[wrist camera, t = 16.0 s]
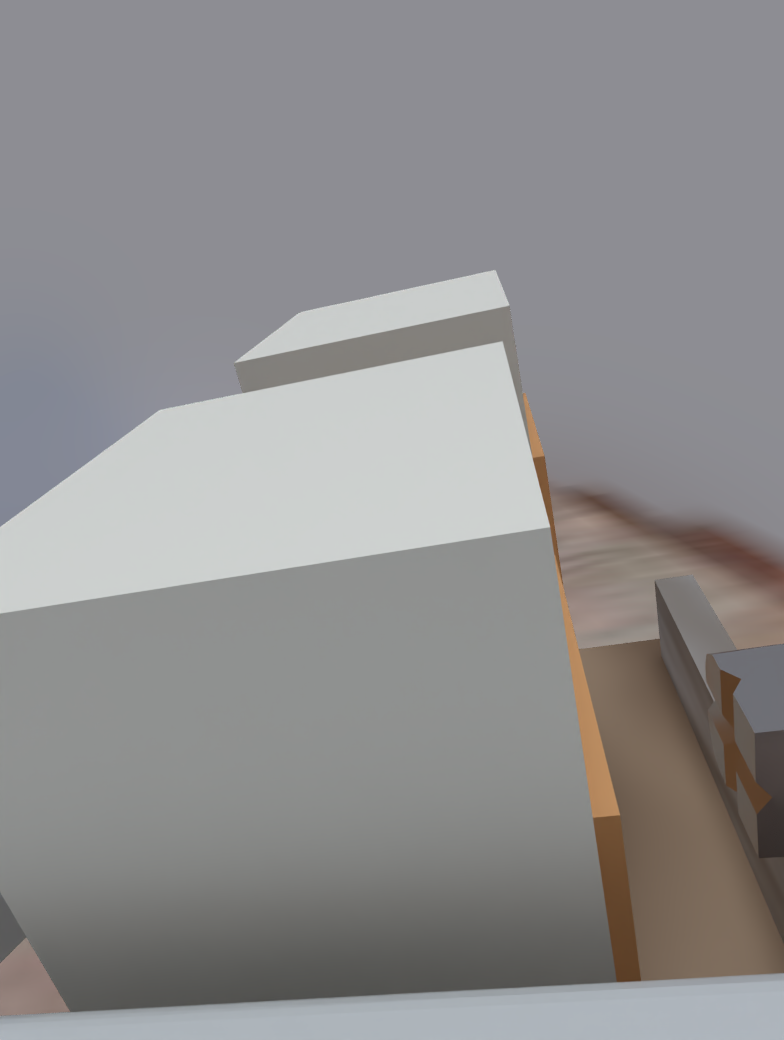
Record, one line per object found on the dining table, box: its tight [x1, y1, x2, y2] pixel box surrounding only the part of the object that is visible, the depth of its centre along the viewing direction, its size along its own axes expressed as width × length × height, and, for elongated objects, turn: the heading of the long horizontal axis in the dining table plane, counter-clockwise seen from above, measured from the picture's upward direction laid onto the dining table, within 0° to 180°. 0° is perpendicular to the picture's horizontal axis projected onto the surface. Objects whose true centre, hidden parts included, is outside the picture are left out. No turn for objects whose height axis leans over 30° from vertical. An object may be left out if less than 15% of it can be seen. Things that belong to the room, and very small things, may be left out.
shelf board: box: [579, 575, 784, 981], centre depth 16 cm, size 14×24×4 cm, turn 175°
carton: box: [234, 270, 564, 589], centre depth 18 cm, size 5×6×14 cm
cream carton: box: [0, 341, 641, 1012], centre depth 10 cm, size 5×6×14 cm
